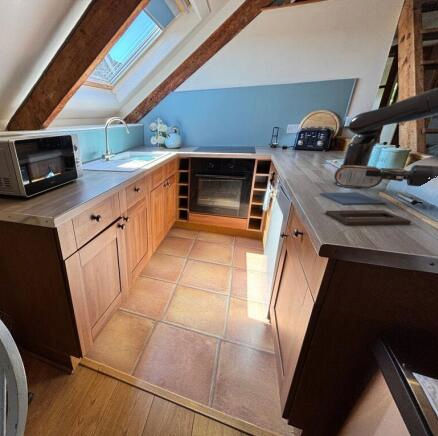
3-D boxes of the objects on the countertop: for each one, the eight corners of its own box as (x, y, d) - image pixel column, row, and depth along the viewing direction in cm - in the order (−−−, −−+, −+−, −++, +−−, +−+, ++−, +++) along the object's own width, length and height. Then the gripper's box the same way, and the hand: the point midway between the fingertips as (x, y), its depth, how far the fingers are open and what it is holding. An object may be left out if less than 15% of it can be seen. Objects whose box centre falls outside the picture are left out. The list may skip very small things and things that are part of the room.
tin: (379, 188, 96) (385, 166, 93) (380, 189, 94) (386, 167, 91) (332, 184, 105) (337, 164, 102) (332, 185, 102) (337, 165, 99)
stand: (325, 213, 87) (326, 210, 86) (382, 213, 86) (383, 209, 86) (346, 225, 78) (347, 221, 77) (410, 224, 77) (411, 221, 77)
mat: (320, 194, 108) (320, 193, 108) (356, 193, 108) (356, 192, 108) (343, 204, 95) (343, 203, 95) (384, 203, 95) (384, 202, 95)
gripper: (428, 162, 90) (367, 160, 100) (439, 169, 80) (370, 165, 89) (420, 182, 93) (361, 178, 103) (430, 191, 83) (364, 185, 92)
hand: (366, 172), depth 96 cm, fingers closed on tin, 2 cm apart
